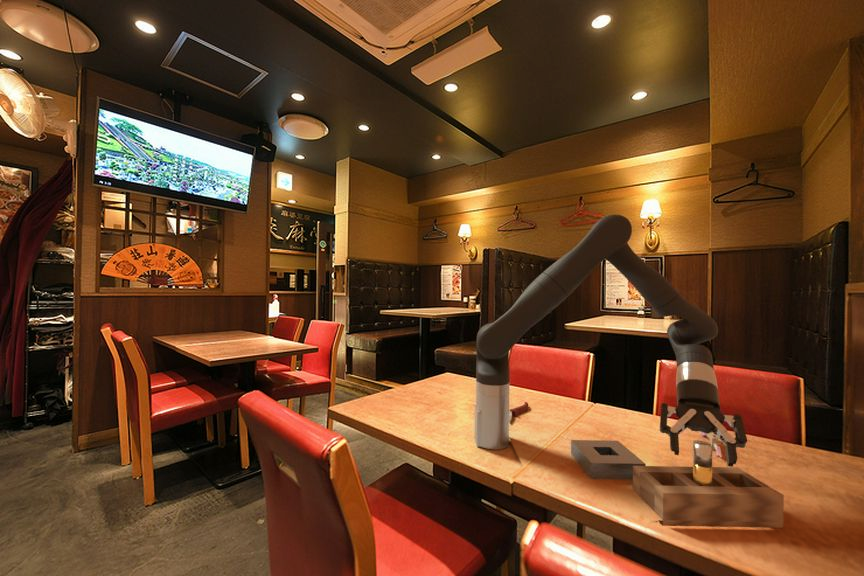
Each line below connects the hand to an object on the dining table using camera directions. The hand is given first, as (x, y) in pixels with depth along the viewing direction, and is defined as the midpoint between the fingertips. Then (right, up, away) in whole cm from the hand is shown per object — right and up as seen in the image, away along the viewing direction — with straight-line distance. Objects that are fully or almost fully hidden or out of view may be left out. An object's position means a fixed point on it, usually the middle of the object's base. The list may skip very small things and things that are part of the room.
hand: (703, 459), depth 70 cm
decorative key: (+25, -11, +29) cm, 40 cm away
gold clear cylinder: (0, -9, 0) cm, 9 cm away
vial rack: (0, -10, 0) cm, 10 cm away
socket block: (-12, -10, +15) cm, 22 cm away
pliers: (-28, -10, +55) cm, 62 cm away
